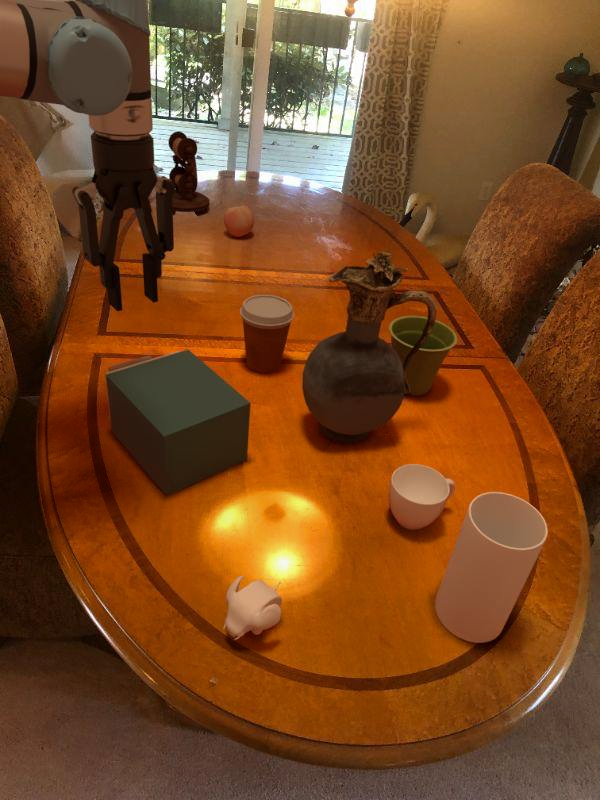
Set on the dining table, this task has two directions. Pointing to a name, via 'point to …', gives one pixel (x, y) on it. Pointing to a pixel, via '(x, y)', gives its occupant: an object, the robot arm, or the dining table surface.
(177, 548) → the dining table surface
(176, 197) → the brown mechanical sculpture
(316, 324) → the dining table surface
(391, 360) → the pitcher
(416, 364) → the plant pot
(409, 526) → the cup
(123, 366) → the drawer
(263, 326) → the disposable coffee cup
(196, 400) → the cabinet
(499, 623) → the cup
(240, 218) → the apple
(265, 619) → the elephant figurine
